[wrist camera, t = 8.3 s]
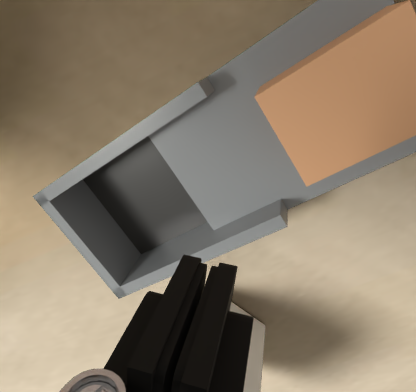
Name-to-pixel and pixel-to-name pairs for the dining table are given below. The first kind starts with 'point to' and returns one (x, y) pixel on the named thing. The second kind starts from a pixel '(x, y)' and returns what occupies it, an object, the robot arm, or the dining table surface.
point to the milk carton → (253, 353)
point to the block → (347, 96)
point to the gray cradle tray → (202, 165)
